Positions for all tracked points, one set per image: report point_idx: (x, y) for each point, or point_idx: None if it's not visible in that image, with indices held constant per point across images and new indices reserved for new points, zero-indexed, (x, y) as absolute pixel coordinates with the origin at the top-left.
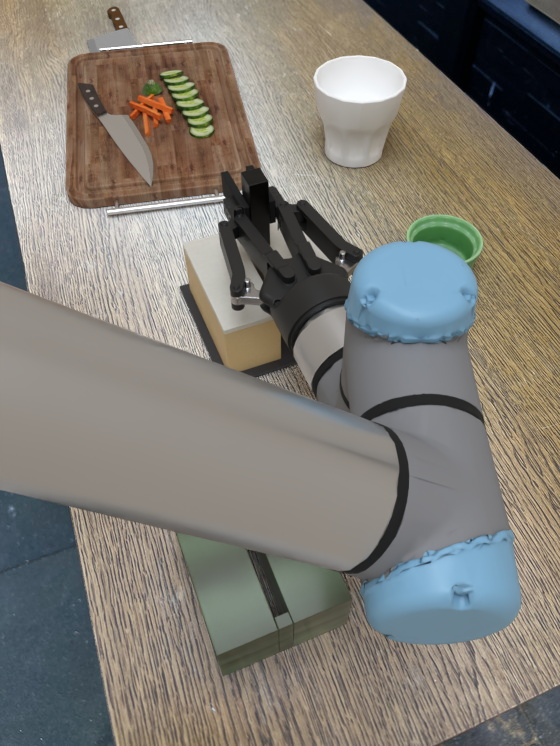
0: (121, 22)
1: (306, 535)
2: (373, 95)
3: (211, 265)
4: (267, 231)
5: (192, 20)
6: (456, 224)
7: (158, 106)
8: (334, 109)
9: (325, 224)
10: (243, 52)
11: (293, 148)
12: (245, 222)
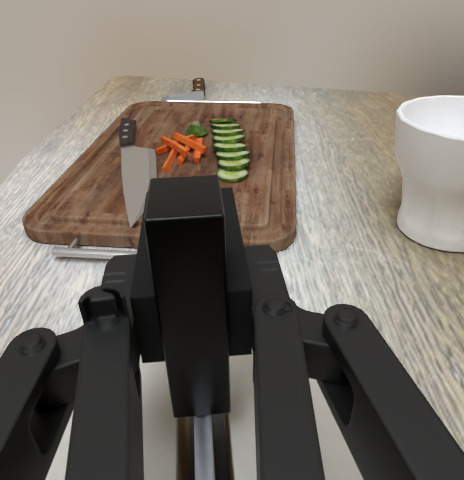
0: (200, 87)
1: None
2: None
3: (70, 423)
4: (220, 377)
5: (268, 93)
6: None
7: (191, 144)
8: (428, 152)
9: (444, 452)
10: (311, 117)
11: (350, 212)
12: (107, 353)
